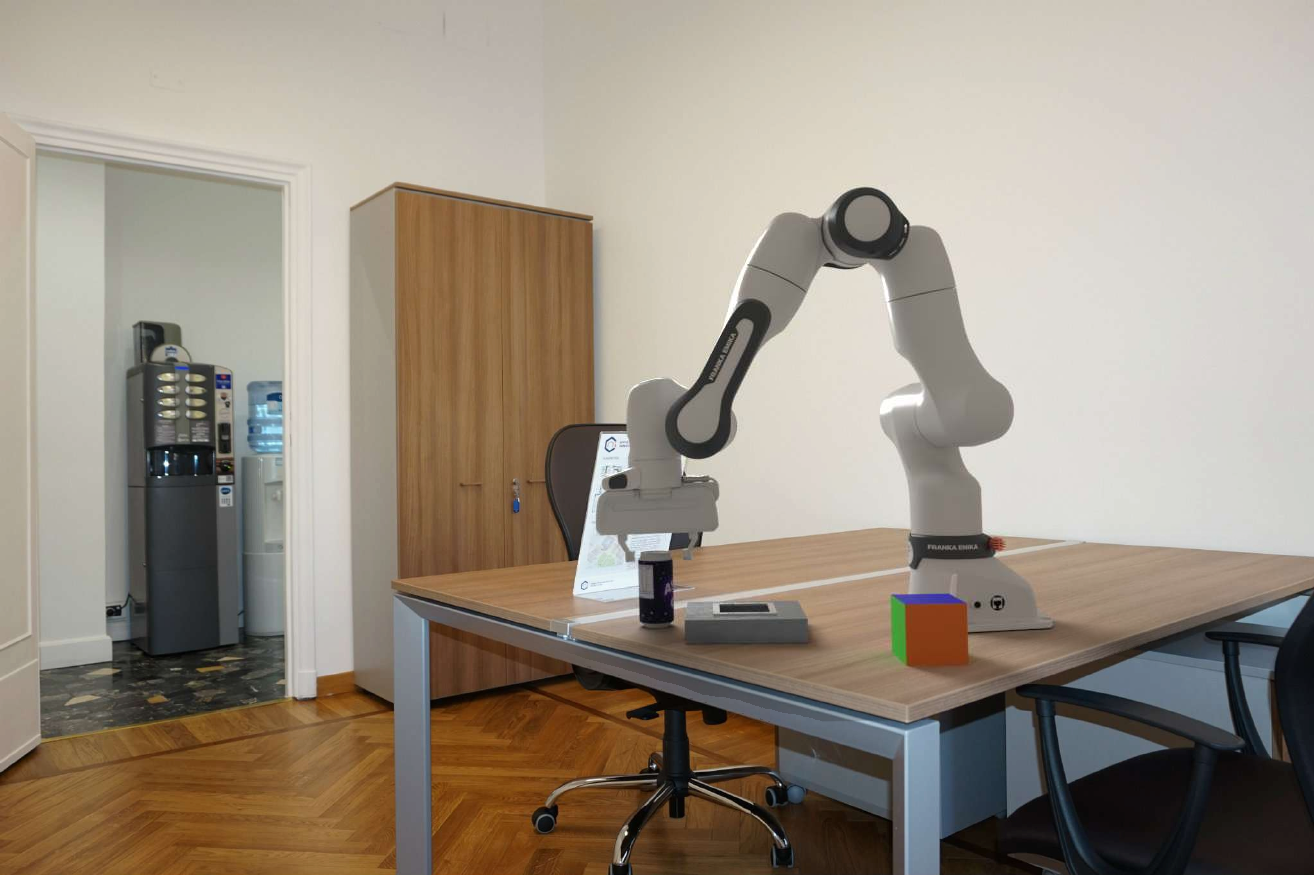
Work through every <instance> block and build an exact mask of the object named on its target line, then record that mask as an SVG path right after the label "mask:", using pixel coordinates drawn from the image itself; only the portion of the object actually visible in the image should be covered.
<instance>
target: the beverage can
mask: <svg viewBox="0 0 1314 875" xmlns="http://www.w3.org/2000/svg"><path fill="white" fill-rule="evenodd" d="M673 561H674V560H673V557H672V556H671V551H669V550H646V551H641V552H640V555H639V557H638V560H637V566H638V567H637V568H638V570H637V571H638V573H637V574H638V613H639V615H638V616H639V617H638V618H639V620H638V621H639V622H640V623H641V624H642V625H643V627H645V628H648V629H661V628H662V629H663V628H668V627H670V626H671V624H672V623H673V622H674V621H675V602H674V601H675V599H674V598H675V596H674V562H673Z"/></svg>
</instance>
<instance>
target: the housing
mask: <svg viewBox="0 0 1314 875" xmlns="http://www.w3.org/2000/svg"><path fill="white" fill-rule="evenodd" d="M800 604H801V603H799V601H798V600H745V601H744V600H742V601H741V600H740V601H739V600H737V601H735V600H733V601H729V600H728V601H726V600H725V601H687V605H686V610H685V614H684V642H685V643H684V645H707V644H709V645H710V644H711V645H713V644H714V645H715V644H716V645H720V644H721V645H722V644H723V645H724V644H726V645H727V644H728V645H729V644H730V645H731V644H733V645H734V644H735V645H736V644H796V643H797V644H808V643H809V622H808V621H809V619H808V618H809V617H807V615H806V613H805V611H804V610H803V608H802V606H801V605H800Z"/></svg>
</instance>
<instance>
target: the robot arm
mask: <svg viewBox="0 0 1314 875" xmlns="http://www.w3.org/2000/svg"><path fill="white" fill-rule="evenodd" d="M762 232H763V233H761V235H760V236H759V238H758V239H757V242H755V245H754V246H753V248H752V250H751V252H750V254H749V256H748V257H747V259H746V261H745V264H744V266H743V267H742V270H741V272H740V275H739V277H738V279H737V282H736V285H735V287H734V290H733V294H732V295H731V300H730V303H729V307H728V311H727V314H726V318H725V321H724V324H723V327H722V330H721V333H720V335H719V336H718V338H717V341H716V343H715V344H714V347H713V348H712V350H711V352H710V354H709V356H708V358H707V360H706V363H705V364H704V366H703V367H702V368H703V369H702V370H701V372H700V374H699V376H698V378H697V380H696V381H695V383H694V384H693V385H692V386H691V387H690V388H688V387H686V386H684V385H682V384H680V383H679V382H677V381H675V380H674V379H673V378H671V377H659V378H657V377H655V378H652V379H647V380H644V381H640V382H638V383H637V384H635V385H634V386H632V387H631V389H630V390H629V391H628V392H629V393H628V394H627V395H628V396H627V401H626V437H627V438H628V442H629V452H628V456H627V468H626V469H621V470H617V471H616V472H615V473H612V474H609V475H607V476H604V477H603V478H602V479H601V488H602V490H603V491H604V492H602V493H601V494H600V495H599V497H598V500H597V504H596V511H595V531H596V532H597V533H598V534H599V535H600V536H617V542H618V544H619V546H620V548H621V549H622V551H623V552H624V555H625V563H635V562H636V550H630V547H629V546H628V544H627V543H626V542H627V541H628V540H629V539H628V538H629V537H628V535H651V534H652V535H654V534H656V535H657V534H682V533H684V534H685V533H688V538H689V540H691V541H690V543H689V545H688V547H687V548H683V549H682V561H692V560H693V548H694V547H695V545H696V543H697V541H698V538H699V535H698V533H711V532H715V531H716V530H717V529H718V527H719V515H718V514H719V513H718V507H717V503H716V502H717V501H718V500H719V498H720V485H719V482H718V480H716V479H715V478H714V477H710V475H709V474H708V475H705V474H703V475H683V470H682V468H683V467H682V466H683V465H682V456H683V457H685V458H688V459H691V460H705V459H709V458H711V457H713V456H715V455H717V454H718V453H721V452H722V451H724V450H725V449H727V447H728V446H729V445H731V444H732V442H733V441H734V440H735V437H736V435H737V430H738V422H737V417H736V415H735V413H734V411H733V409H732V407H733V403H734V400H735V397H736V395H737V394H738V392H739V390H740V388H741V385H742V383H743V382H744V379H745V377H746V376H747V374H748V371H749V370H750V368H751V365H752V363H753V361H754V359H755V358H756V356H757V354H758V353H760V352H759V351H760V350H761V349H762V348H763V347H764V346H765V345H766V343H768V342H769V341H770V340H771V339H772V338H774V337H776V336H778V335H779V334H781V333H782V332H783V331H784V330H786V328H788V325H789V324H790V322H791V321H792V320H793V318H794V317H795V316H796V315H797V312H798V311H799V309H800V307H801V306H802V304H803V302H804V300H805V297H806V295H807V294H808V291H809V289H810V287H811V284H812V282H813V280H814V279H815V277H816V275H817V273H818V272H819V270H821V268H822V267H824V268H830V269H831V268H832V269H838V270H854V269H858V268H861V267H863V266H865V265H868V264H869V266H871V267H872V268H873V269H874V270H875V271H876V273H877V274H878V275H879V278H880V281H881V284H882V286H883V293H884V300H885V303H886V304H885V305H886V311H887V316H888V319H889V320H888V321H889V325H890V331H891V336H892V343H893V346H894V348H895V350H896V352H897V353H898V355H899V356H901V357H902V358H904V359H905V360H907V361H908V362H909V364H910V365H911V366H912V368H913V370H914V372H915V373H916V375H917V377H918V380H919V382H912V383H909V384H907V385H904V386H902V387H900V388H897V389H896V390H894V391H892V392H891V393H889V394H888V395H887V396H886V397H885V398H884V400H883V401H882V402H881V405H880V409H879V422H880V426H881V429H882V431H883V433H884V434H885V435H886V437H887V438H888V439H889V440H890V441H891V442H892V444H893V445H894V446H895V448H896V450H897V452H898V455H899V457H900V460H901V462H902V467H903V469H904V472H905V475H906V476H905V477H906V479H907V487H908V496H909V514H910V515H909V516H910V517H909V518H910V520H909V521H910V532H909V533H908V534H907V535H908V537H907V539H908V540H907V560H908V565H909V569H910V571H909V572H910V575H909V582H908V583H909V585H908V592H907V594H951V595H952V596H954V597H956V598H958V599H960V600H962V601H964V602H966V603H967V623H968V633H975V632H976V633H978V632H997V631H1011V630H1012V631H1013V630H1016V631H1017V630H1031V629H1033V630H1034V629H1035V630H1036V629H1050V628H1052V627H1054V620H1053V618H1052V616H1050V615H1049V614H1048V613H1045V612H1044V611H1043V612H1042V611H1040V610H1038V606H1037V599H1036V596H1035V595H1036V594H1035V592H1034V589H1033V587H1032V585H1031V584H1030V583H1029V581H1028V580H1026V579H1025V578H1024V577H1023V576H1021V575H1020V574H1018V573H1017V572H1016V571H1014V570H1013V569H1012V568H1011V567H1009V566H1008V565H1007V564H1005V563H1004V562H1003V561H1001V560H1000V559H998V558H997V557H996V556H995V555H996V552H1001V551H1003V550H1004V548H1006V541H1004V539H1003V538H1000V537H999V536H994V537H992V536H989V535H988V534H986V533H985V532H983V507H982V506H983V504H982V500H983V498H982V487H981V484H980V482H979V480H977V478H976V477H975V476H973V475H972V474H971V473H970V472H969V470H968V468H967V467H966V465H965V463H964V461H963V458H962V455H961V452H960V448H969V447H971V448H972V447H973V448H974V447H978V446H980V445H981V446H982V445H985V444H987V443H990V442H993V441H996V440H999V439H1000V438H1003V436H1004V435H1005V434H1006V433H1008V431H1009V430H1010V428H1011V426H1012V424H1013V421H1014V415H1015V407H1014V401H1013V398H1012V395H1011V393H1010V391H1009V390H1008V388H1007V387H1006V386H1005V385H1004V384H1003V383H1002V382H1000V381H998V380H997V379H996V378H994V377H993V376H992V375H991V374H990V373H989V372H988V371H987V370H986V368H985V367H984V366H983V364H982V363H981V361H980V359H979V358H978V356H977V355H976V353H975V351H974V349H973V348H972V345H971V343H970V340H969V338H968V335H967V334H968V333H967V331H966V328H965V324H964V319H963V315H962V310H961V305H960V300H959V295H958V290H957V288H956V287H957V286H956V280H955V275H954V272H953V268H952V264H951V262H950V258H949V255H948V253H947V252H948V251H947V249H946V247H945V245H944V242H943V240H942V238H941V235H940V234H939V232H937V231H936V230H935V229H934V228H932V227H929V226H926V225H911V224H910V220H909V219H908V218H907V217H906V216H905V214H903V213H902V212H901V211H900V209H899V208H898V207H897V205H896V203H895V202H894V201H893V199H892V198H890V196H889V195H887V193H885V192H884V191H882V190H880V189H878V188H876V187H875V188H874V187H869V186H868V187H867V186H861V187H855V188H852V189H850V190H847V191H846V192H844V193H842V194H841V195H840V196H839V197H838V198H837V199H836V200H835V201H834V202H833V203H832V204H830V206H829V207H828V208H827V210H826V211H825V212H824V213H823V214H822V215H821V216H819V217H809V216H807V215H805V214H802V213H800V212H799V213H798V212H792V211H791V212H790V211H789V212H788V211H787V212H783V213H779V214H778V215H776V216H775V217H774V218H773V219H771V221H770V223H769V224H768V225H767V226H766V227H765V229H764V231H762Z"/></svg>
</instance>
